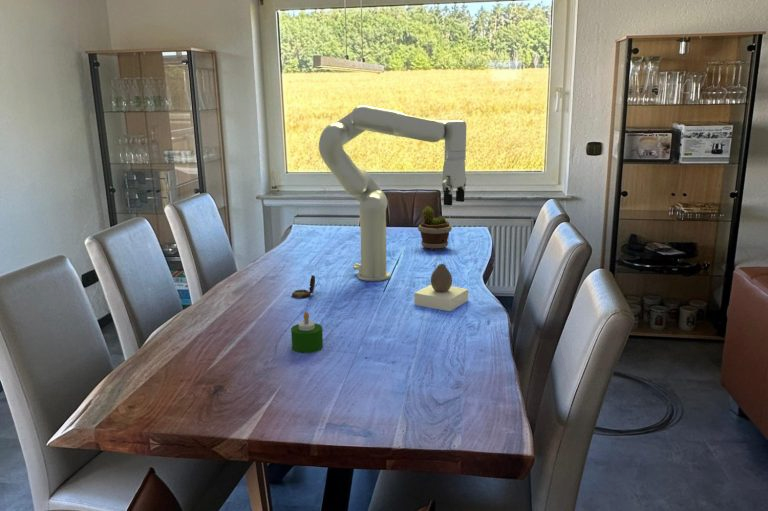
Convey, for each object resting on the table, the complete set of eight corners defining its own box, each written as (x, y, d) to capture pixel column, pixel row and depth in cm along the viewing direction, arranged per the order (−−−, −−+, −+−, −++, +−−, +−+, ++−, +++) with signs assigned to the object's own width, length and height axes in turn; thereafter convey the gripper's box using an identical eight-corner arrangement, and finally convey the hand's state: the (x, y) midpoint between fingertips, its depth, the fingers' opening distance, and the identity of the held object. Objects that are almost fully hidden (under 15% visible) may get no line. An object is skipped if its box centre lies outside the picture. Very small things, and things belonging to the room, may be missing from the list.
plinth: (414, 304, 203) (414, 292, 202) (433, 294, 213) (433, 283, 213) (450, 311, 196) (450, 299, 195) (467, 300, 207) (468, 289, 206)
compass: (293, 293, 216) (292, 272, 215) (316, 293, 216) (315, 272, 214) (289, 300, 209) (288, 279, 207) (312, 300, 208) (312, 279, 207)
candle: (309, 355, 163) (308, 319, 160) (285, 349, 167) (283, 313, 165) (328, 345, 170) (327, 310, 167) (305, 339, 174) (303, 305, 172)
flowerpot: (456, 246, 283) (457, 203, 278) (441, 253, 271) (441, 208, 266) (428, 243, 291) (429, 200, 286) (412, 249, 278) (412, 205, 273)
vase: (450, 294, 200) (451, 268, 198) (429, 293, 201) (429, 267, 199) (452, 288, 207) (453, 262, 204) (432, 287, 208) (432, 261, 206)
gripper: (456, 153, 231) (455, 199, 235) (434, 157, 217) (433, 205, 221) (474, 154, 227) (473, 200, 231) (453, 158, 213) (452, 207, 217)
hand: (454, 203), depth 226 cm, fingers open, 9 cm apart
